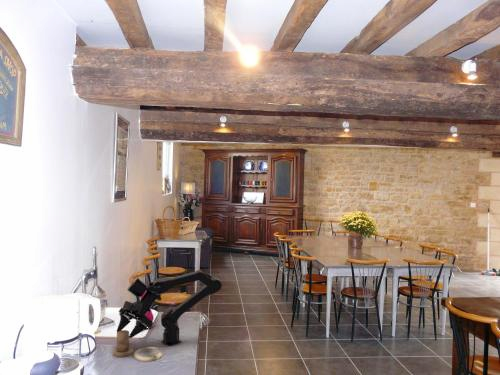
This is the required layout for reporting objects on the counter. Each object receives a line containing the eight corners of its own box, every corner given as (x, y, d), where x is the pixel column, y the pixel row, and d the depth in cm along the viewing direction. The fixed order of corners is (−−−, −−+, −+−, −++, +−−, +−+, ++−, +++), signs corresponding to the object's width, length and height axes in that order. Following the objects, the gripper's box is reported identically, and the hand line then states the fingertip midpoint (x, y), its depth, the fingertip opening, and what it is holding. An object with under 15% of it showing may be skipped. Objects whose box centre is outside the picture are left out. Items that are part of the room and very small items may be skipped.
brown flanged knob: (127, 347, 180) (127, 327, 180) (136, 353, 174) (136, 332, 174) (109, 353, 174) (109, 332, 174) (118, 359, 169) (118, 338, 168)
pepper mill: (149, 330, 201) (150, 290, 200) (135, 329, 202) (136, 289, 201) (155, 325, 208) (156, 286, 207) (142, 324, 209) (143, 285, 209)
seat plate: (154, 346, 182) (154, 340, 182) (168, 355, 173) (168, 348, 173) (128, 354, 174) (128, 347, 174) (142, 364, 165) (142, 356, 165)
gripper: (122, 289, 184) (99, 319, 176) (147, 297, 172) (124, 331, 164) (137, 302, 190) (115, 332, 182) (162, 312, 178) (140, 344, 170)
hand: (123, 334), depth 175 cm, fingers open, 9 cm apart
